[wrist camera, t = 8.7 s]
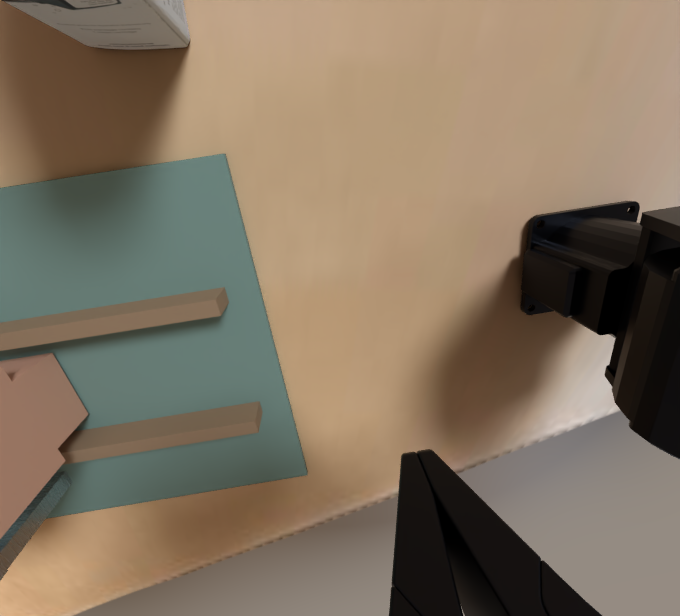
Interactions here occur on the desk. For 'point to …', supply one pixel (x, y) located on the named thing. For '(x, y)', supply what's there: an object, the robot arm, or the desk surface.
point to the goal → (31, 519)
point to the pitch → (148, 331)
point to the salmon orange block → (32, 429)
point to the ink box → (114, 21)
